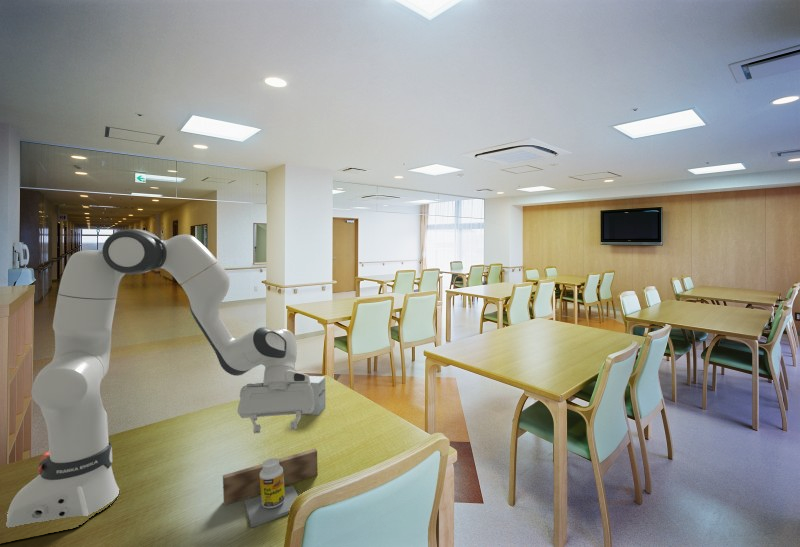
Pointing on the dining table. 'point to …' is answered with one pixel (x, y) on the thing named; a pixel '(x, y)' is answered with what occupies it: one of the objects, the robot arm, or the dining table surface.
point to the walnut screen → (249, 478)
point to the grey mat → (263, 514)
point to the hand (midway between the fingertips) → (275, 431)
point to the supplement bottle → (272, 483)
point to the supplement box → (318, 393)
